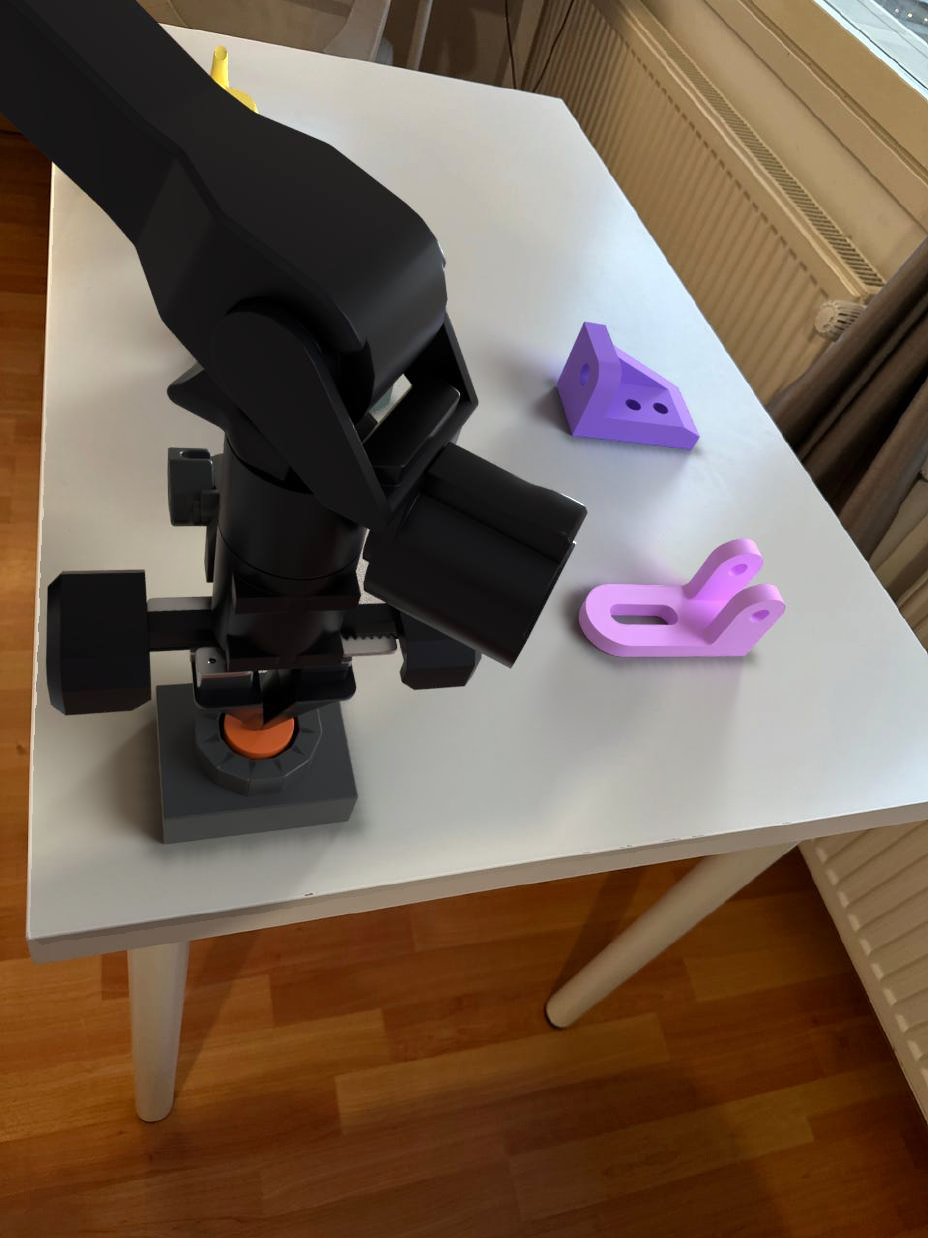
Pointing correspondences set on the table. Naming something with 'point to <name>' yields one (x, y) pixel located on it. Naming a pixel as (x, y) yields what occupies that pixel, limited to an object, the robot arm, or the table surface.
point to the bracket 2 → (688, 610)
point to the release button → (257, 739)
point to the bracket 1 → (621, 396)
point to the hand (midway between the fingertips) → (258, 722)
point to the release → (248, 773)
